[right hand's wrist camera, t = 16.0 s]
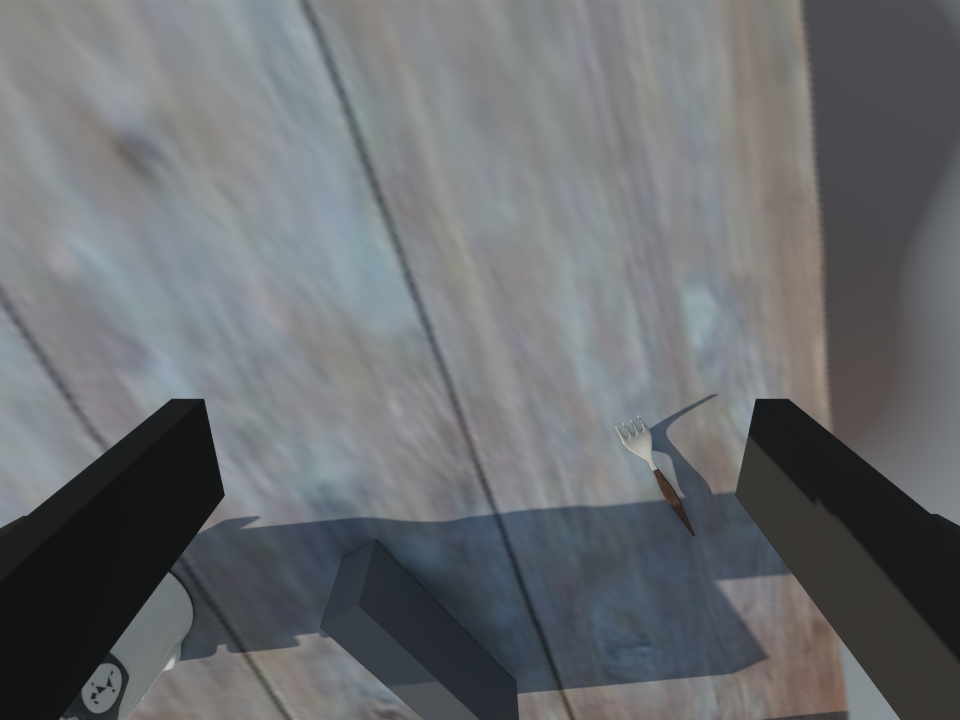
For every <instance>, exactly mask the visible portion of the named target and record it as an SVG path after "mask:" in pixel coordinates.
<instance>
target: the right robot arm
mask: <svg viewBox="0 0 960 720" xmlns="http://www.w3.org/2000/svg"><path fill="white" fill-rule="evenodd" d="M224 496H225V494H224V489H223V485H222V480H221V475H220V471H219V466H218V461H217V457H216V452H215V448H214V443H213V438H212V434H211V429H210V424H209V420H208V415H207V410H206V406H205V401H204V399H171V400H170V401H169V402H167V403H166V404H165V405H164V406H162V407H161V408H160V409H159V410H157V411H156V412H155V413H154V414H152V415H151V416H150V417H149V418H148V419H146V420H145V421H144V422H143V423H141V424H140V425H139V426H138V427H136V428H135V429H134V430H133V431H131V432H130V433H129V434H128V435H126V436H125V437H124V438H123V439H122V440H120V441H119V442H118V443H117V444H115V445H114V446H113V447H112V448H110V449H109V450H108V451H107V452H105V453H104V454H103V455H102V456H101V457H99V458H98V459H97V460H96V461H94V462H93V463H92V464H91V465H89V466H88V467H87V468H86V469H84V470H83V471H82V472H81V473H79V474H78V475H77V476H76V477H75V478H73V479H72V480H71V481H70V482H68V483H67V484H66V485H65V486H63V487H62V488H61V489H60V490H58V491H57V492H56V493H55V494H54V495H52V496H51V497H50V498H49V499H47V500H46V501H45V502H44V503H42V504H41V505H40V506H39V507H37V508H36V509H35V510H34V511H33V512H31V513H30V514H29V515H28V516H22V517H20V518H19V519H17V520H15V521H13V522H11V523H9V524H7V525H6V526H4V527H2V528H0V720H60V718H61V717H62V715H63V714H64V713H65V711H66V710H67V709H68V707H69V706H70V705H71V703H72V702H73V701H74V699H75V698H76V697H77V695H78V694H79V692H80V691H81V690H82V688H83V687H84V686H85V684H86V683H87V682H88V680H89V679H90V678H91V676H92V675H93V673H94V672H95V671H96V669H97V668H98V667H99V665H100V664H101V663H102V661H103V660H104V659H105V657H106V656H107V655H108V653H109V652H110V650H111V649H112V648H113V646H114V645H115V644H116V642H117V641H118V640H119V638H120V637H121V636H122V634H123V633H124V631H125V630H126V629H127V627H128V626H129V625H130V623H131V622H132V621H133V619H134V618H135V617H136V615H137V614H138V612H139V611H140V610H141V608H142V607H143V606H144V604H145V603H146V602H147V600H148V599H149V598H150V596H151V595H152V594H153V592H154V591H155V589H156V588H157V587H158V585H159V584H160V583H161V581H162V580H163V579H164V577H165V576H166V575H167V573H168V572H169V570H170V569H171V568H172V566H173V565H174V564H175V562H176V561H177V560H178V558H179V557H180V556H181V554H182V553H183V551H184V550H185V549H186V547H187V546H188V545H189V543H190V542H191V541H192V539H193V538H194V537H195V535H196V534H197V533H198V531H199V530H200V528H201V527H202V526H203V524H204V523H205V522H206V520H207V519H208V518H209V516H210V515H211V514H212V512H213V511H214V509H215V508H216V507H217V505H218V504H219V503H220V501H221V500H222V499H223V497H224ZM735 496H736V497H737V499H738V500H739V501H740V503H741V504H742V505H743V507H744V508H745V509H746V511H747V512H748V514H749V515H750V516H751V518H752V519H753V520H754V522H755V523H756V524H757V526H758V527H759V528H760V530H761V531H762V533H763V534H764V535H765V537H766V538H767V539H768V541H769V542H770V543H771V545H772V546H773V547H774V549H775V550H776V551H777V553H778V554H779V556H780V557H781V558H782V560H783V561H784V562H785V564H786V565H787V566H788V568H789V569H790V570H791V572H792V573H793V575H794V576H795V577H796V579H797V580H798V581H799V583H800V584H801V585H802V587H803V588H804V589H805V591H806V592H807V594H808V595H809V596H810V598H811V599H812V600H813V602H814V603H815V604H816V606H817V607H818V608H819V610H820V611H821V612H822V614H823V615H824V617H825V618H826V619H827V621H828V622H829V623H830V625H831V626H832V627H833V629H834V630H835V631H836V633H837V634H838V636H839V637H840V638H841V640H842V641H843V642H844V644H845V645H846V646H847V648H848V649H849V650H850V652H851V653H852V655H853V656H854V657H855V659H856V660H857V661H858V663H859V664H860V665H861V667H862V668H863V669H864V671H865V672H866V673H867V675H868V676H869V677H870V679H871V680H872V682H873V683H874V684H875V686H876V687H877V688H878V690H879V691H880V692H881V694H882V695H883V697H884V698H885V699H886V701H887V702H888V703H889V705H890V706H891V707H892V709H893V710H894V711H895V713H896V714H897V715H898V717H899V718H900V720H960V526H959V525H957V524H955V523H953V522H951V521H949V520H948V519H946V518H944V517H942V516H940V515H938V514H930V513H929V512H927V511H926V510H925V509H924V508H923V507H921V506H920V505H919V504H918V503H916V502H915V501H914V500H913V499H911V498H910V497H909V496H908V495H906V494H905V493H904V492H903V491H902V490H900V489H899V488H898V487H896V486H895V485H894V484H893V483H892V482H890V481H889V480H888V479H887V478H885V477H884V476H883V475H882V474H881V473H879V472H878V471H877V470H876V469H874V468H873V467H872V466H871V465H869V464H868V463H867V462H866V461H864V460H863V459H862V458H861V457H859V456H858V455H857V454H856V453H855V452H853V451H852V450H851V449H850V448H848V447H847V446H846V445H845V444H843V443H842V442H841V441H840V440H838V439H837V438H836V437H835V436H834V435H832V434H831V433H830V432H829V431H827V430H826V429H825V428H824V427H822V426H821V425H820V424H819V423H817V422H816V421H815V420H814V419H812V418H811V417H810V416H809V415H808V414H806V413H805V412H804V411H803V410H801V409H800V408H799V407H798V406H796V405H795V404H794V403H793V402H791V401H790V400H789V399H756V401H755V406H754V410H753V415H752V420H751V424H750V429H749V434H748V438H747V443H746V447H745V452H744V457H743V461H742V466H741V471H740V475H739V480H738V485H737V489H736V494H735Z"/></svg>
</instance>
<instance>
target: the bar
mask: <svg viewBox="0 0 960 720" xmlns="http://www.w3.org/2000/svg"><path fill="white" fill-rule="evenodd" d="M320 628H321V629H323V630H324V631H325V632H326V633H327V634H328V635H329V636H330V637H331V638H333V639H334V640H335V641H336V642H337V643H338V644H339V645H340V646H342V647H343V648H344V649H345V650H346V651H347V652H348V653H349V654H351V655H352V656H353V657H354V658H355V659H356V660H357V661H358V662H359V663H361V664H362V665H363V666H364V667H365V668H366V669H367V670H368V671H370V672H371V673H372V674H373V675H374V676H375V677H376V678H377V679H378V680H380V681H381V682H382V683H383V684H384V685H385V686H386V687H387V688H389V689H390V690H391V691H392V692H393V693H394V694H395V695H396V696H398V697H399V698H400V699H401V700H402V701H403V702H404V703H405V704H406V705H408V706H409V707H410V708H411V709H412V710H413V711H414V712H415V713H417V714H418V715H419V716H420V717H421V718H422V719H423V720H519V713H518V699H517V685H516V681H515V680H514V679H513V678H512V677H511V676H510V675H509V674H508V673H507V672H506V671H505V670H504V669H503V668H502V667H501V666H500V665H499V664H498V663H497V662H496V661H495V660H494V659H493V658H492V657H491V656H490V655H489V654H488V653H487V652H486V651H485V650H484V649H483V648H482V647H481V646H480V645H479V644H478V643H477V642H476V641H475V640H474V639H473V638H472V637H471V636H470V634H469V633H468V632H467V631H466V630H465V629H464V628H463V627H462V626H461V625H460V624H459V623H458V622H457V621H456V620H455V619H454V618H453V617H452V616H451V615H450V614H449V613H448V612H447V611H446V610H445V609H444V608H443V607H442V606H441V605H440V604H439V603H438V602H437V601H436V600H435V599H434V598H433V597H432V596H431V595H430V594H429V593H428V592H427V591H426V590H425V589H424V588H423V587H422V586H421V585H420V584H419V583H418V582H417V581H416V580H415V579H414V578H413V577H412V576H411V574H410V573H409V572H408V571H407V570H406V569H405V568H404V567H403V566H402V565H401V564H400V563H399V562H398V561H397V560H396V559H395V558H394V557H393V556H392V555H391V554H390V553H389V552H388V551H387V550H386V549H385V548H384V547H383V546H382V545H381V544H380V543H379V542H378V541H377V540H376V539H375V540H373V541H372V542H370V543H368V544H367V545H365V546H363V547H362V548H360V549H358V550H357V551H355V552H353V553H352V554H350V555H348V556H347V557H345V558H344V559H342V562H341V565H340V568H339V571H338V574H337V577H336V580H335V583H334V586H333V589H332V592H331V595H330V598H329V601H328V604H327V607H326V610H325V613H324V616H323V619H322V622H321V625H320Z"/></svg>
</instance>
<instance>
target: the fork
mask: <svg viewBox="0 0 960 720" xmlns="http://www.w3.org/2000/svg"><path fill="white" fill-rule="evenodd" d="M638 418H639V420H640V423H641V425H642V430H639V429H638V427H637V426H636V425H635V423H634V422H633V421H632V420H631V419H630V420H631V422H632V425H633V427H634V429H635V433H634V434H633V433H632V432H631V431H630V430H629V429H628V427H627V426H626V425H625V424H624V423H623V425H624V427H625V429H626V431H627V433H628V437H625V436H624V435H623V434H622V433H621V431H620V430H619V429H618V428H617V427H616V429H617V431H618V433H619V435H620V437H621V439H622V441H623V443H624V445H625V446H626V447H627V448H628V449H629V450H630V451H632V452H633V453H635V454H637V455H639V456H640V457H642V458H644V459H645V460H647V461H648V462H649V464H650V465H651V468H652V470H653V472H654V475H655V477H656V479H657V482H658V484H659V487H660V489H661V491H662V493H663V495H664V497H665V499H666V500H667V502H668V503H669V505H670V506H671V507H672V509H673V510H674V511H675V512H676V514H677V515H678V516H679V518H680V519H681V520H682V522H683V523H684V524H685V526H686V527H687V528H688V530H689V531H690V533H691V534H692V535H693V536H695V534H694V532H693V530H692V528H691V526H690V523H689V521H688V519H687V517H686V514H685V512H684V510H683V507H682V505H681V502H680V500H679V498H678V496H677V494H676V492H675V491H674V489H673V488H672V486H671V485H670V484H669V482H668V481H667V480H666V478H665V477H664V476H663V474H662V473H661V472H660V471H659V469H658V468H657V467H656V465H655V464H654V462H653V460H652V435H651V432H650V430H649V429H648V428H647V426H646V425H645V423H644V422H643V421H642V419H641V418H640V417H639V415H638Z"/></svg>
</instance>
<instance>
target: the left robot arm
mask: <svg viewBox="0 0 960 720" xmlns="http://www.w3.org/2000/svg"><path fill="white" fill-rule="evenodd" d="M192 622H193V607H192V603H191V600H190V597H189V595H188V593H187V592H186V590H185V589H184V587H183V586H182V585H181V583H180V582H179V581H178V580H177V579H176V578H175V577H174V576H173V575H172V574H171V573H169V572H168V573H167V575H166V576H165V577H164V579H163V580H162V581H161V583H160V584H159V585H158V587H157V588H156V589H155V591H154V592H153V594H152V595H151V596H150V598H149V599H148V600H147V602H146V603H145V604H144V606H143V607H142V608H141V610H140V611H139V612H138V614H137V615H136V617H135V618H134V619H133V621H132V622H131V623H130V625H129V626H128V627H127V629H126V630H125V631H124V633H123V634H122V636H121V637H120V638H119V640H118V641H117V642H116V644H115V645H114V646H113V648H112V649H111V650H110V652H109V653H108V655H107V656H106V657H105V659H104V660H103V661H102V663H101V664H100V665H99V667H98V668H97V669H96V671H95V672H94V673H93V675H92V676H91V678H90V679H89V680H88V682H87V683H86V684H85V686H84V687H83V688H82V690H81V691H80V692H79V694H78V695H77V697H76V698H75V699H74V701H73V702H72V703H71V705H70V706H69V707H68V709H67V710H66V711H65V713H64V714H63V715H62V717H61V718H60V720H127V719H128V718H129V717H130V715H131V714H132V713H133V711H134V710H135V709H136V707H137V706H138V705H139V703H140V702H141V700H142V699H143V698H144V696H145V695H146V694H147V692H148V691H149V689H150V688H151V687H152V685H153V684H154V682H155V681H156V680H157V678H158V677H159V676H160V674H161V673H162V671H165V670H170V669H172V668H174V667H175V665H176V664H177V662H178V661H179V660H180V657H181V643H182V641H183V639H184V638H185V636H186V635H187V633H188V632H189V630H190V628H191V626H192Z"/></svg>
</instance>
